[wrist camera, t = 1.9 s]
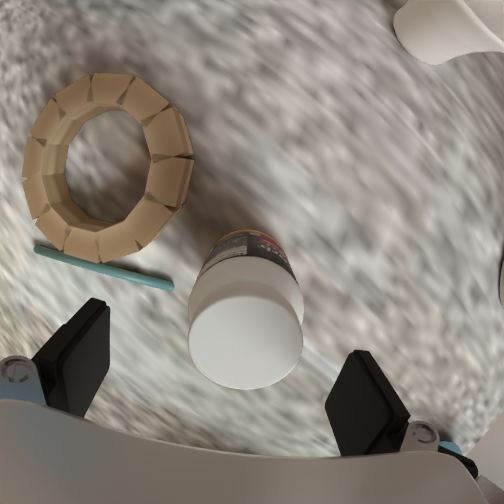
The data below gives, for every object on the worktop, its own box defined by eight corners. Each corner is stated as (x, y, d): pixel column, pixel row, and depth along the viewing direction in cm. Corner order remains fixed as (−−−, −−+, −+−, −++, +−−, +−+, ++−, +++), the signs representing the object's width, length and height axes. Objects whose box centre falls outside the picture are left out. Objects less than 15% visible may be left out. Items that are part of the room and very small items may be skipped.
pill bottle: (302, 275, 21) (341, 357, 12) (237, 318, 22) (232, 415, 13) (256, 210, 20) (265, 251, 10) (188, 258, 21) (146, 332, 11)
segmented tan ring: (211, 94, 18) (205, 82, 15) (173, 265, 21) (163, 280, 18) (64, 82, 17) (43, 74, 14) (40, 230, 20) (18, 239, 17)
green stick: (176, 281, 21) (173, 284, 21) (174, 289, 21) (172, 293, 21) (36, 243, 20) (32, 245, 19) (36, 251, 20) (32, 253, 20)
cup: (472, 87, 17) (556, 72, 8) (384, 76, 17) (468, 32, 8) (447, 2, 15) (511, -36, 5) (357, -17, 15) (408, -86, 5)
